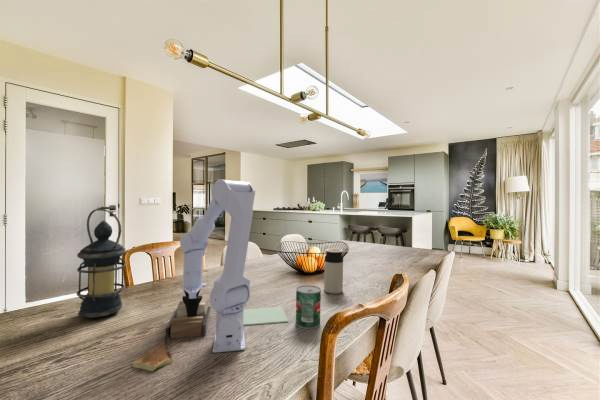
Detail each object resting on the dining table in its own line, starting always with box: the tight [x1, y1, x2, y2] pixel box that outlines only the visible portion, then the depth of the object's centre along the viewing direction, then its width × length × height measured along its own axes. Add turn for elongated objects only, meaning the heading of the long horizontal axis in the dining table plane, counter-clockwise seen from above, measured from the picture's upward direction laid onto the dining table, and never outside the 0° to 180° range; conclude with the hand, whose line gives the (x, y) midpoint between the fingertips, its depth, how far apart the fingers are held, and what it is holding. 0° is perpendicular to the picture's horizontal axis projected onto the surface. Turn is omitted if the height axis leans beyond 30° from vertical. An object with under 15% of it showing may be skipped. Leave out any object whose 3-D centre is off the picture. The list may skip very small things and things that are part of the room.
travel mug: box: [323, 248, 344, 295], centre depth 120 cm, size 8×8×18 cm
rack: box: [164, 306, 212, 340], centre depth 84 cm, size 14×11×3 cm
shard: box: [132, 339, 173, 372], centre depth 67 cm, size 11×8×2 cm
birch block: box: [176, 299, 207, 323], centre depth 87 cm, size 4×8×6 cm, turn 103°
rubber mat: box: [243, 306, 289, 327], centre depth 92 cm, size 12×20×1 cm, turn 103°
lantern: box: [76, 208, 127, 319], centre depth 91 cm, size 14×13×35 cm
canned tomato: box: [295, 284, 322, 330], centre depth 87 cm, size 8×8×11 cm
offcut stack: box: [170, 316, 203, 339], centre depth 79 cm, size 4×8×4 cm, turn 103°
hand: (191, 314), depth 87 cm, fingers open, 7 cm apart
